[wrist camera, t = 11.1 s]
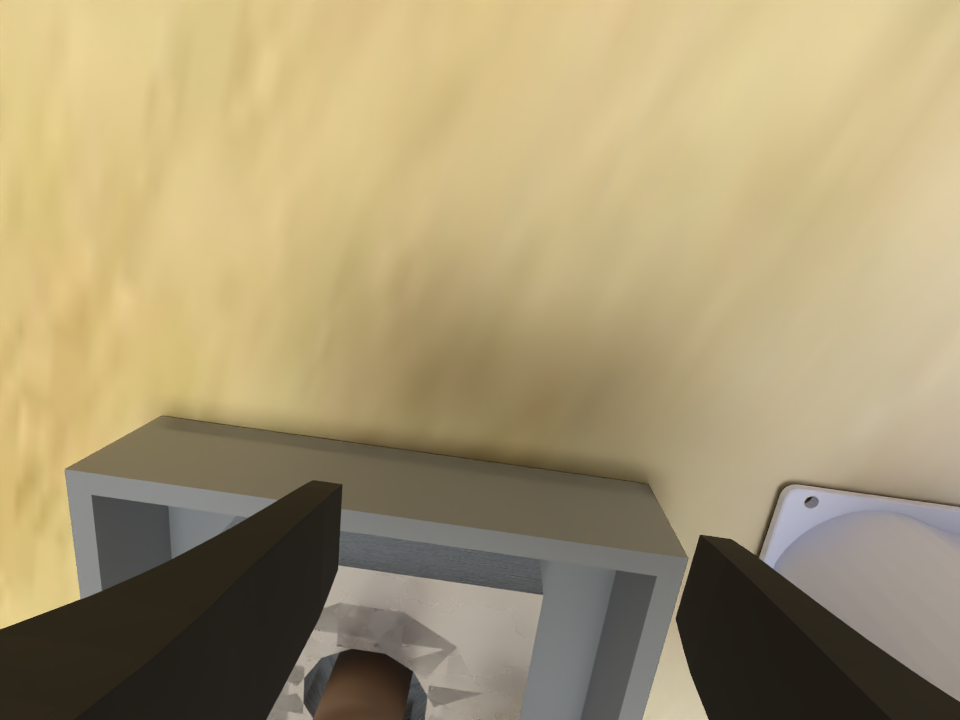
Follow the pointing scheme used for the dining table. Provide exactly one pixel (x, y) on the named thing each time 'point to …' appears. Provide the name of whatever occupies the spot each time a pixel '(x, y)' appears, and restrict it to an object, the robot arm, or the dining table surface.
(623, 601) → the open box
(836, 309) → the dining table surface
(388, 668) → the peg
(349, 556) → the bored plate
